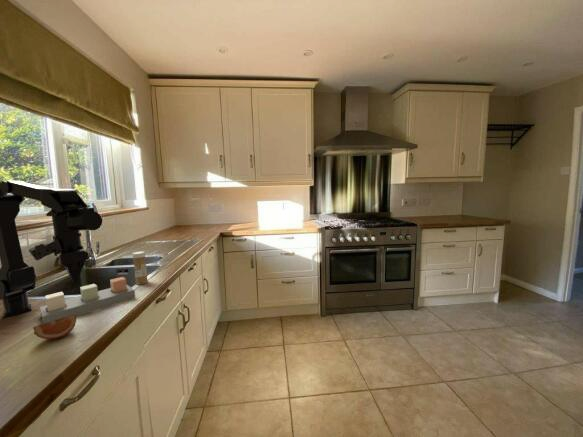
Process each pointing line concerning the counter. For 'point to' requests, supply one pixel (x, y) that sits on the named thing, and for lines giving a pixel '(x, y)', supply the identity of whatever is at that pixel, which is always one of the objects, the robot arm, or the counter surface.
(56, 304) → the ivory key
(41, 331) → the fruit slice
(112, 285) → the terracotta key
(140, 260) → the sprinkles bottle
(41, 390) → the counter surface
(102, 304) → the key panel
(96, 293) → the sage key
